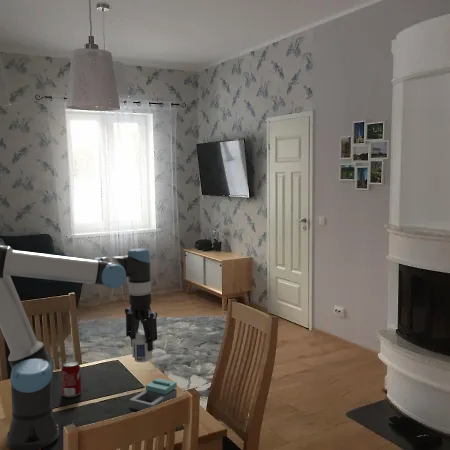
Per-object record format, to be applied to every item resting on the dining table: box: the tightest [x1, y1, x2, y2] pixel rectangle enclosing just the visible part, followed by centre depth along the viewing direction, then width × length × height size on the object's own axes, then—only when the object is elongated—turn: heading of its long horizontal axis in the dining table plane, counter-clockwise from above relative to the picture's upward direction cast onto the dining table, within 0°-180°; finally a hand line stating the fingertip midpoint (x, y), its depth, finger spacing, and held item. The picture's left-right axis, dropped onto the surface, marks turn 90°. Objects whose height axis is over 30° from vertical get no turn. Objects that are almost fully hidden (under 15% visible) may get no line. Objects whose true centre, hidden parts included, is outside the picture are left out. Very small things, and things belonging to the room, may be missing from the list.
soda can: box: [61, 360, 82, 398], centre depth 190 cm, size 7×7×12 cm
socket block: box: [128, 388, 178, 411], centre depth 184 cm, size 15×10×3 cm, turn 153°
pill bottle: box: [133, 331, 150, 363], centre depth 180 cm, size 5×5×10 cm
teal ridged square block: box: [145, 378, 177, 394], centre depth 188 cm, size 8×8×3 cm
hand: (142, 357), depth 180 cm, fingers closed on pill bottle, 5 cm apart
